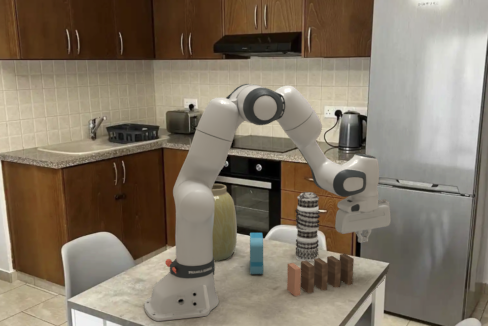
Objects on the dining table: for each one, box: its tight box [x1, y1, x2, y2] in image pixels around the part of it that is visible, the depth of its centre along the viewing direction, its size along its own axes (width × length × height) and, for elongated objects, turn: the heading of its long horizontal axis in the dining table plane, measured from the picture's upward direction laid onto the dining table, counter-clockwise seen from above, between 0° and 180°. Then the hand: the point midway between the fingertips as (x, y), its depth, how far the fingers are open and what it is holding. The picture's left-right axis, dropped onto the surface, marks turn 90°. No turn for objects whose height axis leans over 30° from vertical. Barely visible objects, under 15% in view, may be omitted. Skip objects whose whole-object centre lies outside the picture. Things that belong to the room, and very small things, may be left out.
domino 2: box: [300, 261, 315, 294], centre depth 159 cm, size 2×5×9 cm, turn 24°
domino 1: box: [286, 262, 301, 297], centre depth 157 cm, size 2×5×9 cm, turn 23°
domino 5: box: [339, 253, 355, 286], centre depth 165 cm, size 2×5×9 cm, turn 23°
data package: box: [249, 232, 264, 275], centre depth 176 cm, size 12×4×12 cm, turn 0°
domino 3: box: [313, 257, 328, 291], centre depth 161 cm, size 2×5×9 cm, turn 23°
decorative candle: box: [295, 191, 321, 263], centre depth 185 cm, size 9×9×25 cm
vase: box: [211, 183, 238, 262], centre depth 188 cm, size 17×17×27 cm
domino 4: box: [326, 255, 341, 289], centre depth 163 cm, size 2×5×9 cm, turn 23°
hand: (362, 241), depth 166 cm, fingers closed
